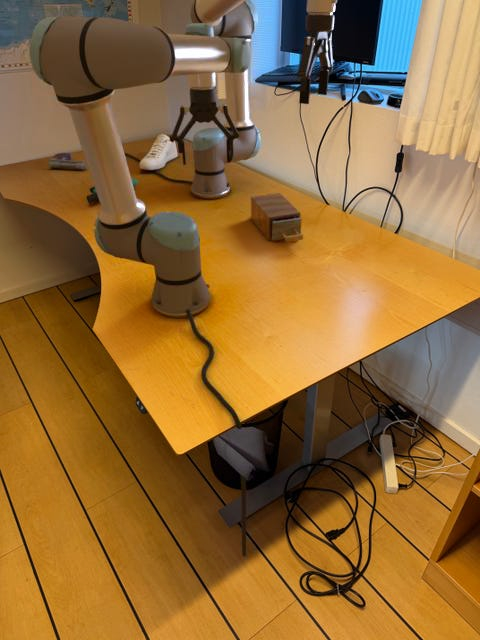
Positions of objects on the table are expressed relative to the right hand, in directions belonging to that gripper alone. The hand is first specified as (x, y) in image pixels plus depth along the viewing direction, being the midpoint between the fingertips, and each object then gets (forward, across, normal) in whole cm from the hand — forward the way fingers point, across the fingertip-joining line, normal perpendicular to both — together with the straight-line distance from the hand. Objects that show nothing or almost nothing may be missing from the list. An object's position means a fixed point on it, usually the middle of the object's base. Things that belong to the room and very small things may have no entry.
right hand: (313, 99), depth 140 cm
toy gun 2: (+41, -13, +80) cm, 91 cm away
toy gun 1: (+41, +6, +118) cm, 126 cm away
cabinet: (+40, -7, +8) cm, 41 cm away
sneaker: (+41, +27, +84) cm, 97 cm away
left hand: (+17, -20, +26) cm, 37 cm away
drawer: (+39, -11, +3) cm, 41 cm away
